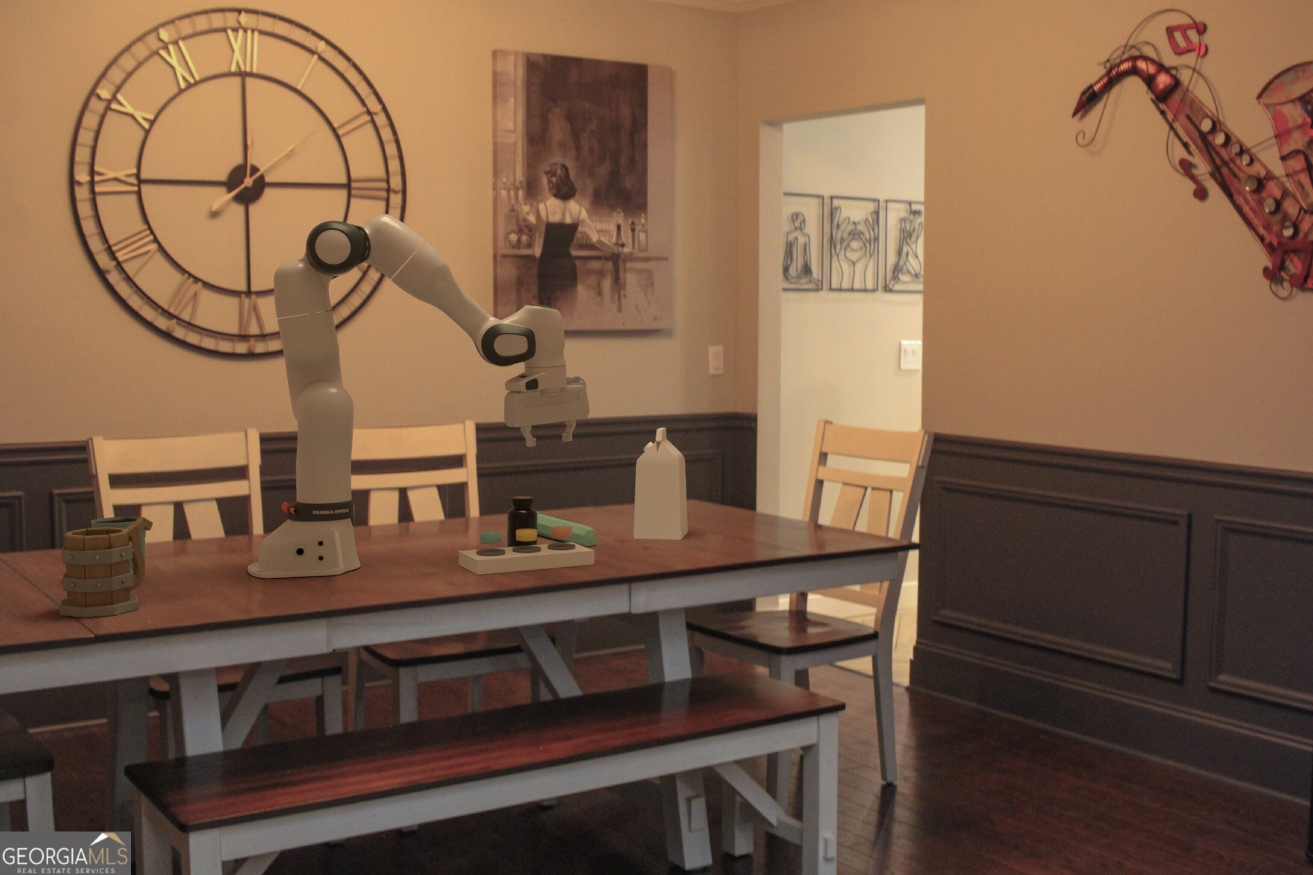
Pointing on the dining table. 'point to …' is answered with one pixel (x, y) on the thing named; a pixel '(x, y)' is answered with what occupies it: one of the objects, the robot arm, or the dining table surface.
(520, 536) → the mustard button
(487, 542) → the teal button
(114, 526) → the drinking glass
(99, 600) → the tankard
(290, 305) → the robot arm
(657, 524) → the milk
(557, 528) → the terracotta button
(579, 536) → the container
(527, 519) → the supplement bottle
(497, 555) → the button panel
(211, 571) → the dining table surface
